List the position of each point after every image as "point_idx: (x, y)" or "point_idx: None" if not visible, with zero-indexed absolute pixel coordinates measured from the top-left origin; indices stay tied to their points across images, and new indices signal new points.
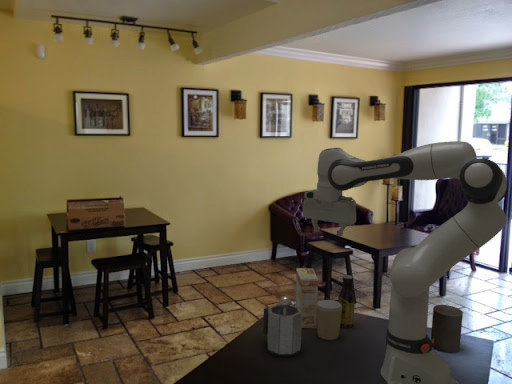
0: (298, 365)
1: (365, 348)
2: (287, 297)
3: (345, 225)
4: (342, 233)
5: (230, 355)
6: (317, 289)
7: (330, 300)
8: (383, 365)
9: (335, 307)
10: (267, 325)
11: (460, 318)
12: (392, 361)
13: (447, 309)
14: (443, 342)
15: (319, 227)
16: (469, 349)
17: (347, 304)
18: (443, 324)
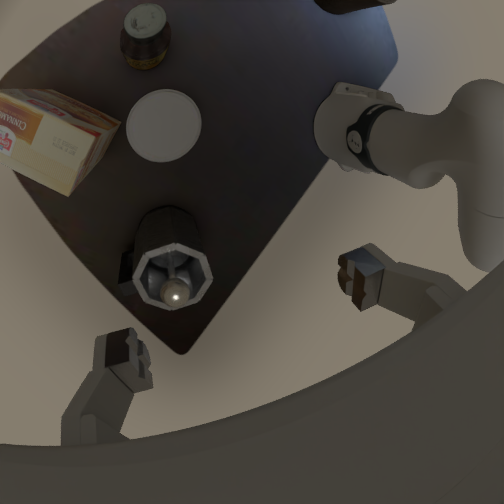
0: (226, 240)
1: (252, 97)
2: (183, 298)
3: (450, 290)
4: (380, 255)
5: (149, 310)
6: (102, 134)
7: (141, 103)
8: (331, 151)
9: (190, 125)
10: (130, 267)
11: None
12: (364, 172)
13: None
14: (350, 11)
15: (133, 361)
16: None
17: (163, 53)
18: (371, 6)
